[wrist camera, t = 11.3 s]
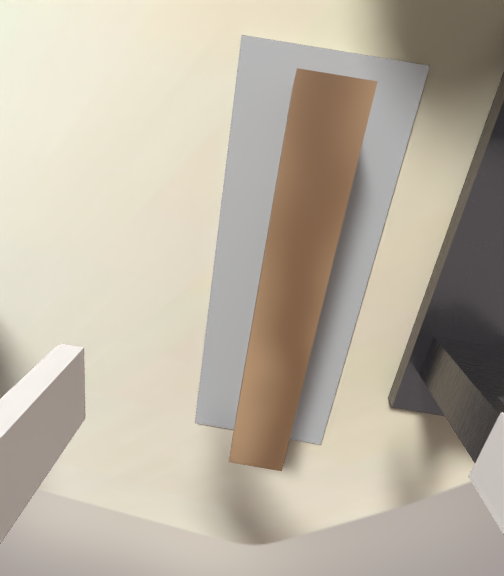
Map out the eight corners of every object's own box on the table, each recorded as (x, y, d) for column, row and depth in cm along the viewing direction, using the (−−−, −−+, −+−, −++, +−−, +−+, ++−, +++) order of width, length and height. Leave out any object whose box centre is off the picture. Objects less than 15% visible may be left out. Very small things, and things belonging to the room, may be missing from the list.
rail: (237, 409, 28) (228, 461, 23) (292, 87, 20) (297, 68, 15) (280, 417, 28) (281, 471, 23) (354, 97, 20) (377, 81, 15)
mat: (195, 419, 29) (194, 423, 28) (242, 37, 19) (241, 35, 19) (320, 440, 29) (320, 444, 28) (427, 67, 19) (430, 65, 19)
